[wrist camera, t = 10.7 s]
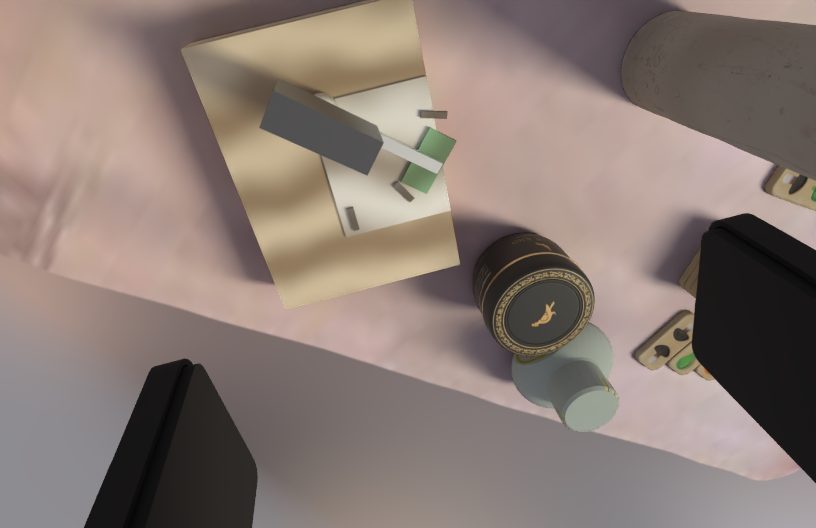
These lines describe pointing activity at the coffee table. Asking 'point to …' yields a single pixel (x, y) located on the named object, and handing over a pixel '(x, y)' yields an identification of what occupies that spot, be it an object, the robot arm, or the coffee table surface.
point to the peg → (332, 130)
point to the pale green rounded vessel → (571, 380)
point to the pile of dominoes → (677, 334)
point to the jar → (531, 294)
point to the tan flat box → (324, 178)
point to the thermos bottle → (730, 82)
